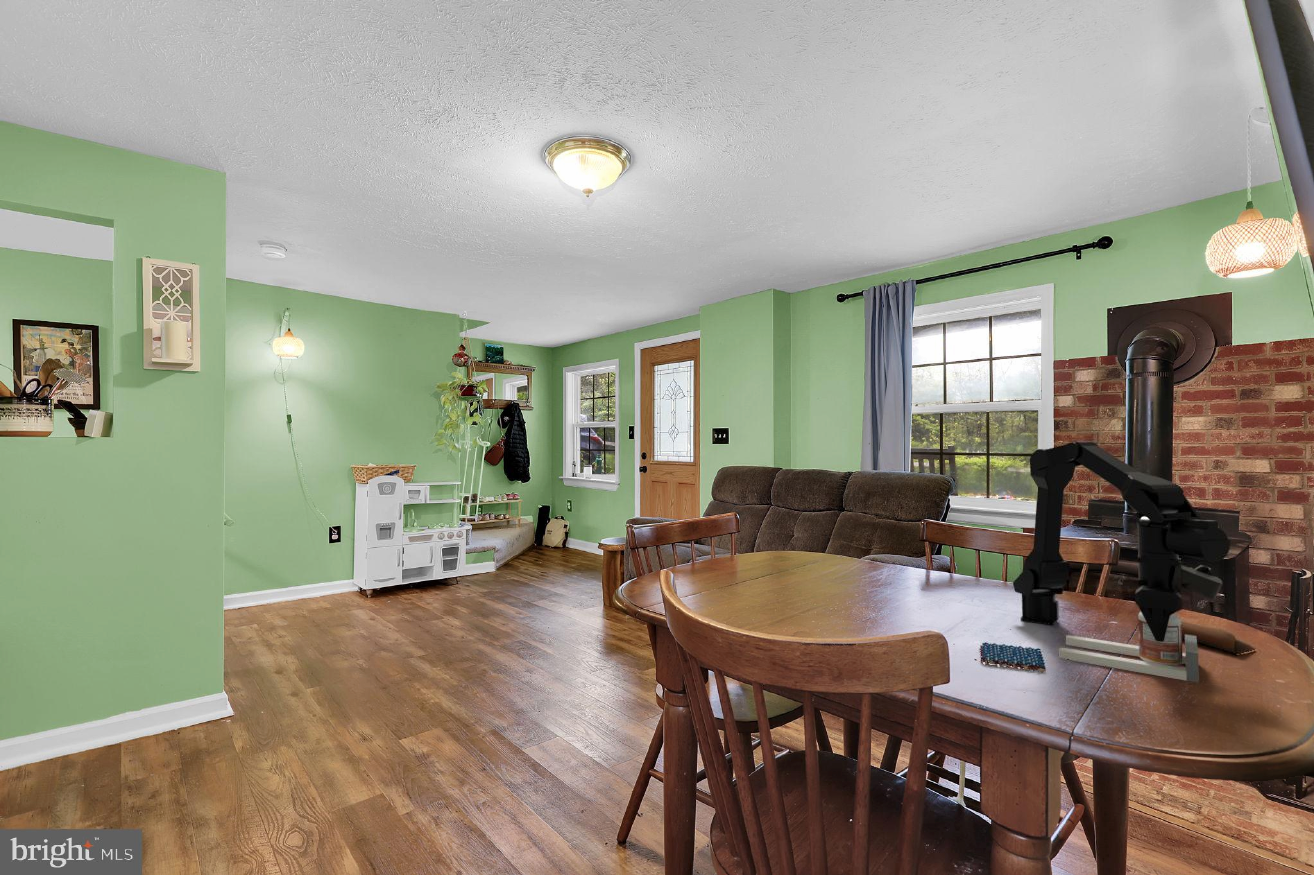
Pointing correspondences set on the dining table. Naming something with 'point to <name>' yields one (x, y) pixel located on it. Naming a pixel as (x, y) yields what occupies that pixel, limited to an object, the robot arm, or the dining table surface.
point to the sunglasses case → (1215, 637)
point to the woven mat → (1012, 656)
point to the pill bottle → (1161, 643)
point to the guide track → (1129, 664)
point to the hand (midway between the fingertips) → (1160, 636)
